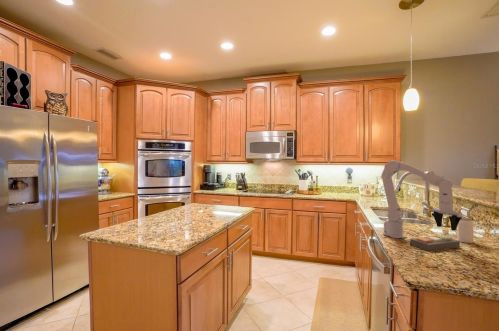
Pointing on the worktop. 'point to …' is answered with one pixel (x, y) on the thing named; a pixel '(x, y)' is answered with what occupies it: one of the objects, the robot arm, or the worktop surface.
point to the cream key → (434, 239)
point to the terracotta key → (424, 240)
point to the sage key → (444, 238)
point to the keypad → (435, 244)
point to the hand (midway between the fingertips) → (446, 228)
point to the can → (465, 230)
